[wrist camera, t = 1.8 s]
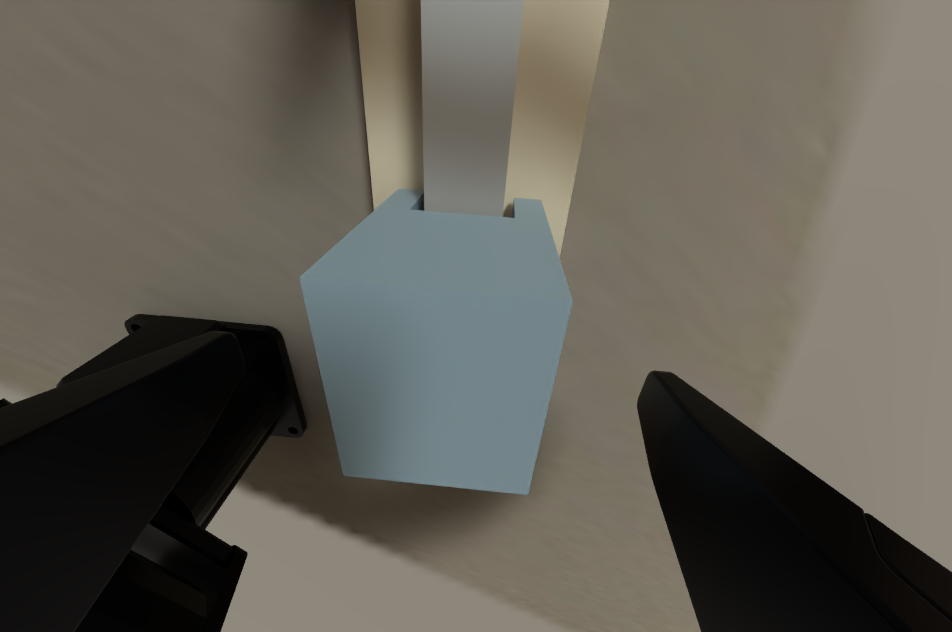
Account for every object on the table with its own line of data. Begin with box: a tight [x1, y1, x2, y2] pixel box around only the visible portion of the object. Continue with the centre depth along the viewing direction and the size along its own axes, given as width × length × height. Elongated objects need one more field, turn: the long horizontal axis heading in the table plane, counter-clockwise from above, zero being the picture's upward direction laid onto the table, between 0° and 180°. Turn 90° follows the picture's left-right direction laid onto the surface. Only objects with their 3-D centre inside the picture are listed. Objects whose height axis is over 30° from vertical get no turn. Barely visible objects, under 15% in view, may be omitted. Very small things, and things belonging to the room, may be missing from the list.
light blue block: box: [299, 189, 573, 495], centre depth 9 cm, size 5×4×6 cm
